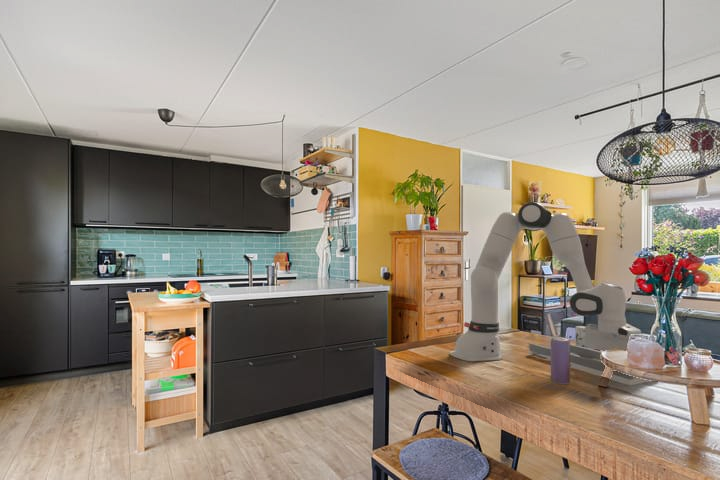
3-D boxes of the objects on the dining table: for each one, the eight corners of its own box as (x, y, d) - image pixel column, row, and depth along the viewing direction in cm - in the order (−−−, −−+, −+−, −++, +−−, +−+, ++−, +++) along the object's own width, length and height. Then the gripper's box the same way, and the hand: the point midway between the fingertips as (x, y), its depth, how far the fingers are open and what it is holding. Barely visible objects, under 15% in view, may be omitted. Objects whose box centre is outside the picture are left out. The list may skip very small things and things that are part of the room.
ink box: (594, 352, 174) (594, 326, 175) (600, 355, 169) (600, 328, 170) (574, 351, 175) (574, 325, 175) (579, 354, 170) (579, 327, 171)
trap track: (630, 385, 130) (630, 367, 130) (529, 354, 168) (529, 341, 168) (658, 379, 137) (658, 362, 137) (554, 351, 175) (554, 338, 175)
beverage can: (562, 385, 129) (562, 340, 130) (546, 380, 134) (546, 337, 135) (573, 383, 132) (573, 339, 132) (558, 378, 137) (557, 335, 138)
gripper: (580, 323, 152) (580, 358, 152) (635, 333, 134) (635, 373, 133) (590, 321, 155) (590, 356, 155) (646, 331, 137) (646, 371, 136)
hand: (612, 364), depth 144 cm, fingers closed
